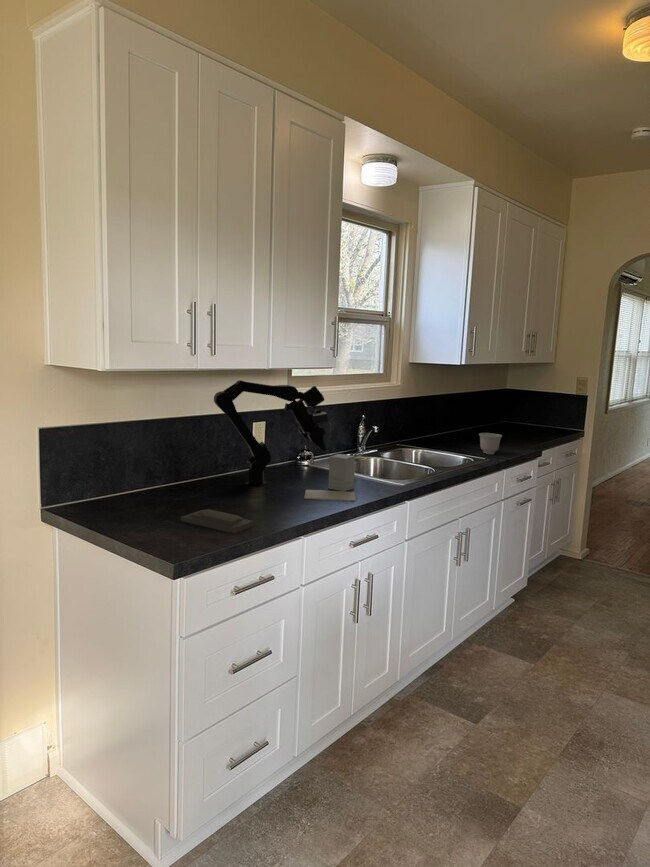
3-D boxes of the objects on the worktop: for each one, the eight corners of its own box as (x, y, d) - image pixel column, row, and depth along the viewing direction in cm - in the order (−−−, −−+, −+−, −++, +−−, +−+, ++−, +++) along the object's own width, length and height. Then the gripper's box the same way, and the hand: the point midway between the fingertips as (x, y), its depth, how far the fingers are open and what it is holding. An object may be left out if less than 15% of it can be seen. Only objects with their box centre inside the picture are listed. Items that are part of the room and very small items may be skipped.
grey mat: (304, 498, 230) (304, 497, 229) (305, 490, 241) (305, 489, 241) (355, 501, 229) (355, 500, 229) (354, 493, 241) (354, 492, 241)
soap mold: (203, 515, 205) (203, 504, 205) (254, 527, 195) (255, 516, 195) (180, 523, 196) (180, 511, 196) (233, 535, 187) (233, 523, 186)
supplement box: (354, 488, 249) (356, 456, 247) (344, 492, 243) (345, 458, 241) (337, 485, 253) (339, 453, 251) (327, 488, 247) (329, 455, 245)
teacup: (494, 450, 351) (496, 432, 350) (503, 456, 337) (505, 436, 335) (472, 450, 351) (474, 431, 349) (481, 455, 336) (482, 435, 334)
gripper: (326, 406, 241) (346, 441, 246) (312, 400, 259) (331, 433, 263) (301, 422, 240) (321, 457, 244) (289, 415, 257) (308, 448, 262)
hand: (321, 448), depth 253 cm, fingers open, 9 cm apart
